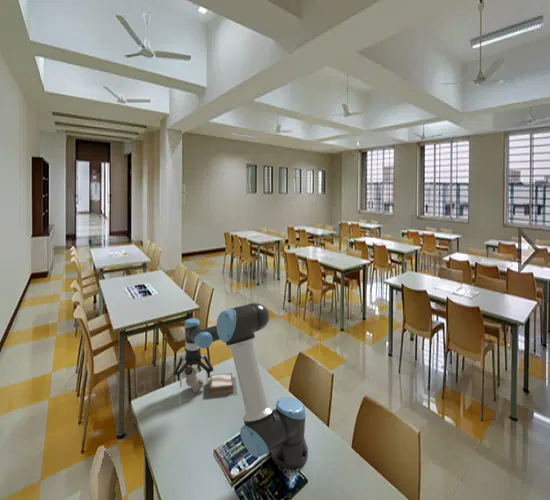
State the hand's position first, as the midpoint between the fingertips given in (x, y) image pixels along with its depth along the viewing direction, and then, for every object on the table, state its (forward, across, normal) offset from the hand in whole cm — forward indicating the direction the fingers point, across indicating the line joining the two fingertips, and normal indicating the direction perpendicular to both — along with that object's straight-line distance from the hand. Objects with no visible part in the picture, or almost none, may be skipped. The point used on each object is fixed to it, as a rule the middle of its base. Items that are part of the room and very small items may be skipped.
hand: (194, 384), depth 166 cm
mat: (+4, -14, 0) cm, 15 cm away
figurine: (+4, 0, 0) cm, 4 cm away
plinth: (+3, -14, 0) cm, 15 cm away
